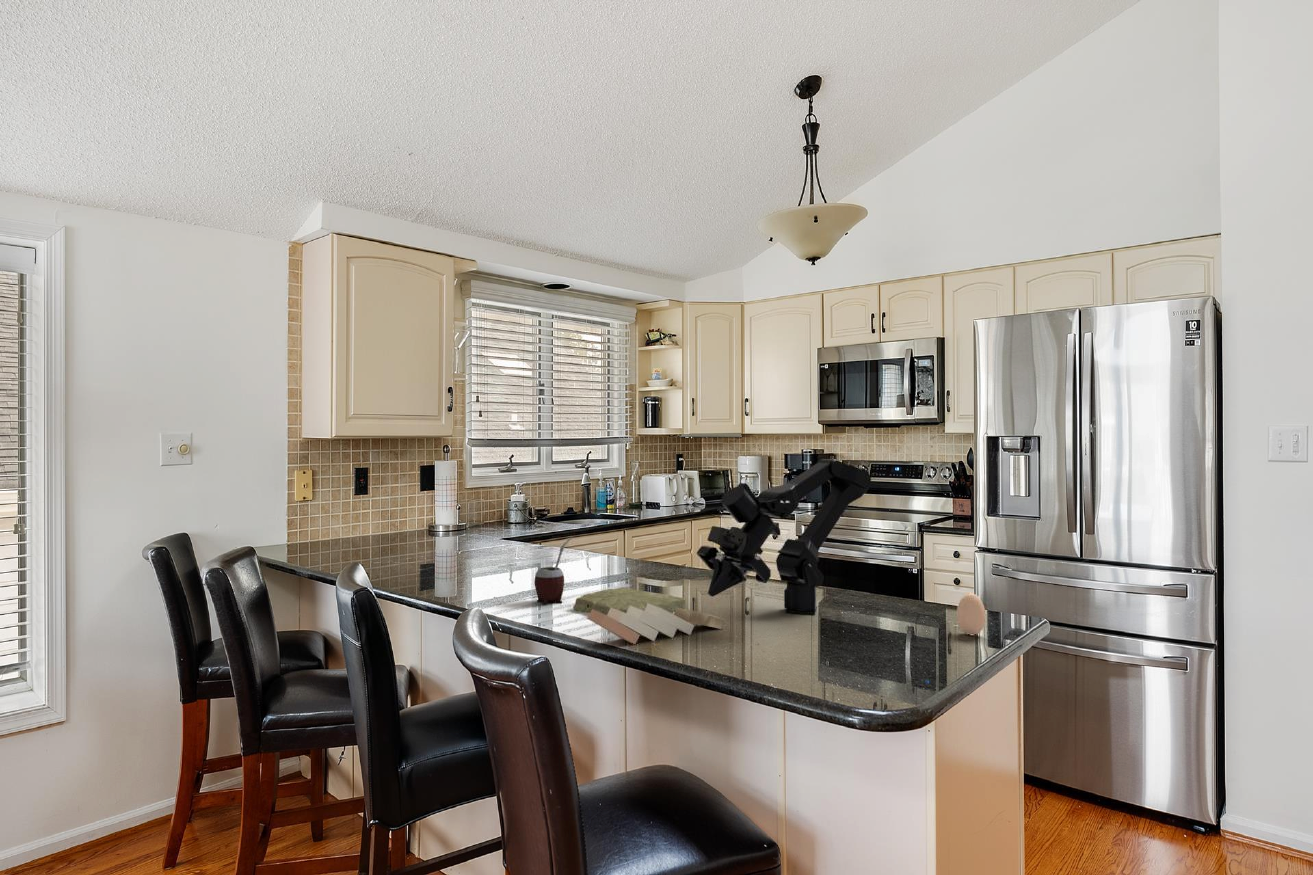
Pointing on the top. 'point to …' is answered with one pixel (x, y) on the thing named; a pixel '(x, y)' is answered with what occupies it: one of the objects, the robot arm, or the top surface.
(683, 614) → the domino
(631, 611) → the domino
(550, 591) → the mate gourd
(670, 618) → the domino
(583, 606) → the olive green slab
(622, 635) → the domino
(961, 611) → the egg
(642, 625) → the domino
